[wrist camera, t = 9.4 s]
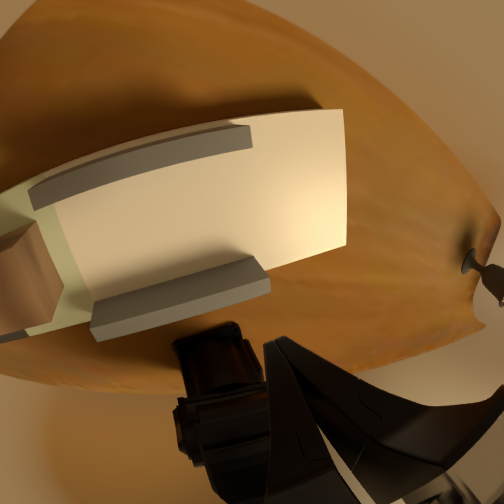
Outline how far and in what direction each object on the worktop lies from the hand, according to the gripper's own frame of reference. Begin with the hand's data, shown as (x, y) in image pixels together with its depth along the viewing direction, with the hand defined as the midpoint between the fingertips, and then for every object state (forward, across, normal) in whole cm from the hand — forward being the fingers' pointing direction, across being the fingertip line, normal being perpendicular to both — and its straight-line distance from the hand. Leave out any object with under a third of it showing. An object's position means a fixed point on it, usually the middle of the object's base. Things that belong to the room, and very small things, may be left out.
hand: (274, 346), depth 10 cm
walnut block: (+10, +14, -3) cm, 17 cm away
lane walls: (+10, +3, -2) cm, 11 cm away
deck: (+13, +2, -2) cm, 13 cm away
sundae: (+13, -41, +20) cm, 47 cm away
